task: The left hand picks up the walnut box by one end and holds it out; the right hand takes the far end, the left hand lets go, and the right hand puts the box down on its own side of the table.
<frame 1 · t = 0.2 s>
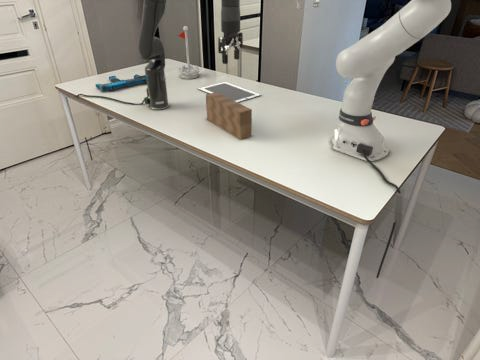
left hand: (231, 61, 141), 28 cm above the table, tool pointing down, fingers open, 8 cm apart
right hand: (307, 8, 134), 47 cm above the table, tool pointing down, fingers open, 8 cm apart
box: (228, 127, 153), on the table
tablet: (229, 92, 193), on the table
flag stand: (189, 76, 220), on the table
submachine gun: (124, 83, 208), on the table
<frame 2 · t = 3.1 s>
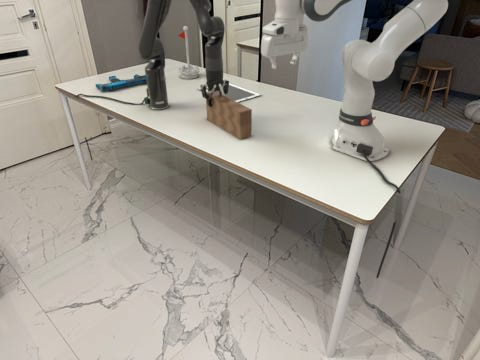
left hand: (215, 104, 156), 8 cm above the table, tool pointing down, fingers closed on box, 5 cm apart
right hand: (283, 66, 128), 30 cm above the table, tool pointing down, fingers open, 8 cm apart
box: (228, 127, 153), on the table, touching left hand
everything else where it was.
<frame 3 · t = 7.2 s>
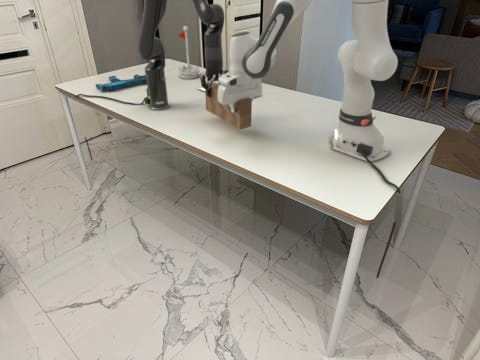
left hand: (215, 95, 153), 12 cm above the table, tool pointing down, fingers closed on box, 5 cm apart
right hand: (240, 110, 141), 11 cm above the table, tool pointing down, fingers closed on box, 6 cm apart
box: (227, 117, 151), point 4 cm above the table, touching right hand, left hand
everything else where it was.
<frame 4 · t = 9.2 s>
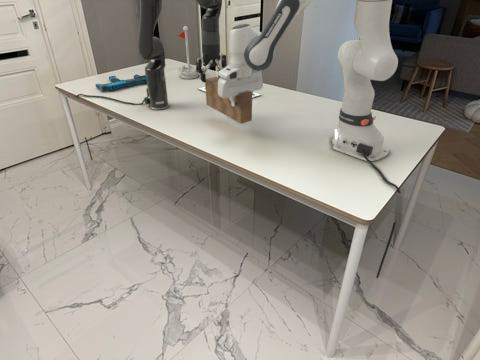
left hand: (212, 80, 151), 18 cm above the table, tool pointing down, fingers open, 8 cm apart
right hand: (241, 103, 139), 14 cm above the table, tool pointing down, fingers closed on box, 6 cm apart
box: (228, 112, 150), point 7 cm above the table, touching right hand
everything else where it was.
when the right hand's fingers open (8 cm above the table, at t = 13.4 s): box stays where it is, on the table.
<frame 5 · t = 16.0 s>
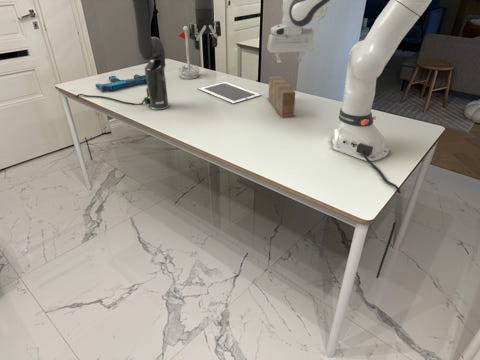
left hand: (206, 48, 147), 31 cm above the table, tool pointing down, fingers open, 8 cm apart
right hand: (289, 62, 152), 25 cm above the table, tool pointing down, fingers open, 8 cm apart
box: (280, 107, 174), on the table
everything else where it was.
at the end: box inside the target area (9.6 cm from its centre), on the table; the left hand is holding nothing; the right hand is holding nothing; box at rest at the end (0.0 cm/s) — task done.
